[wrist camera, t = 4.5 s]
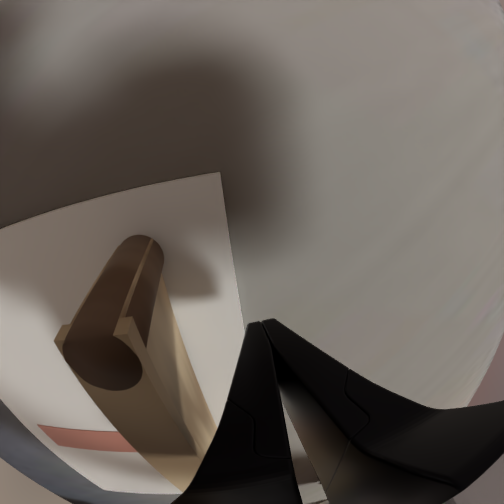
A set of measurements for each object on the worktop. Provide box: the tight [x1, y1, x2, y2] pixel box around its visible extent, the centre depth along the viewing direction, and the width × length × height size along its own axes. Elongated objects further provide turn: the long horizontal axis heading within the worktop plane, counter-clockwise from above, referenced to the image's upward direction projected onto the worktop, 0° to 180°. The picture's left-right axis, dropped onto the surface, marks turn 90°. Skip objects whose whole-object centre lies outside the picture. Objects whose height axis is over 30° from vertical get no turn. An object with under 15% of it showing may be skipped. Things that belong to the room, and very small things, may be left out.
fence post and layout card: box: [0, 172, 245, 494], centre depth 10 cm, size 18×27×6 cm, turn 7°
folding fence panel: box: [54, 235, 217, 492], centre depth 8 cm, size 11×2×5 cm, turn 6°
